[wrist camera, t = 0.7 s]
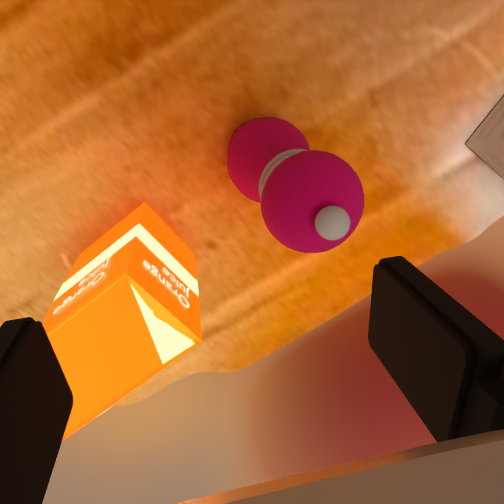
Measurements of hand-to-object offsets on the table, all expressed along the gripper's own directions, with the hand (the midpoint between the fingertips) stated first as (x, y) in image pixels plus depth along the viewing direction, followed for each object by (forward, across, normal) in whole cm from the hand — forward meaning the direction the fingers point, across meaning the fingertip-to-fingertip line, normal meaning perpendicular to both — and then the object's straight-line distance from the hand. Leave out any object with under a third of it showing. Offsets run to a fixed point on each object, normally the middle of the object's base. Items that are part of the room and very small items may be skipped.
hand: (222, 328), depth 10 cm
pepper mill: (+27, -6, +1) cm, 28 cm away
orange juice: (+27, +7, +10) cm, 30 cm away
